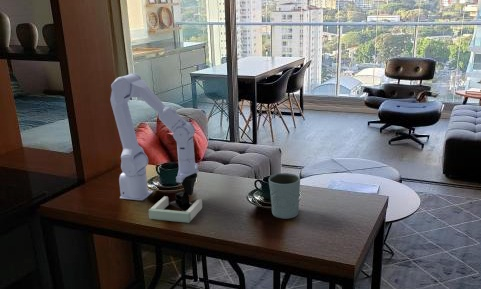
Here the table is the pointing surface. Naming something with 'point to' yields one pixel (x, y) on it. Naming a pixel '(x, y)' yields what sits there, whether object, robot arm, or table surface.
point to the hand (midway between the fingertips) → (189, 194)
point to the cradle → (172, 215)
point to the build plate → (181, 201)
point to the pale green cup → (284, 195)
